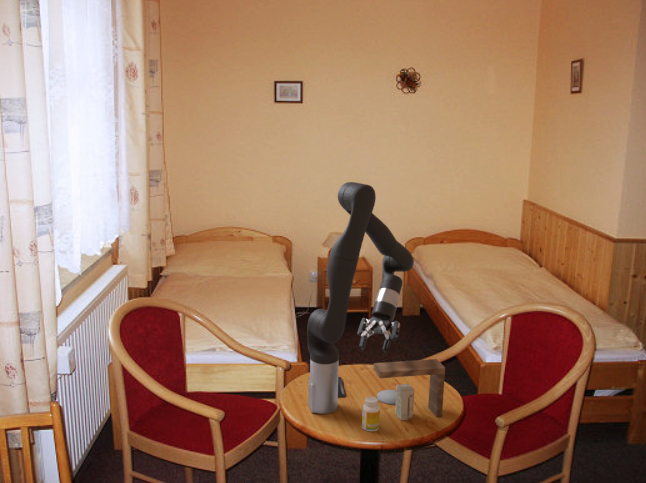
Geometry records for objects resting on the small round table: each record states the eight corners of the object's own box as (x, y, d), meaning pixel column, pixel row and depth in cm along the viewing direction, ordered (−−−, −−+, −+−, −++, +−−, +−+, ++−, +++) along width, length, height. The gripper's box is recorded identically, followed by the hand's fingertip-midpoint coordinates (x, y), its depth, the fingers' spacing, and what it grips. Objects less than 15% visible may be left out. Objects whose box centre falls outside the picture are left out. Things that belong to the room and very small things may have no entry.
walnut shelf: (377, 422, 194) (380, 372, 191) (371, 411, 201) (373, 363, 197) (441, 416, 199) (445, 367, 195) (433, 406, 205) (436, 358, 202)
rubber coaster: (381, 405, 205) (381, 404, 205) (373, 392, 215) (373, 390, 215) (410, 403, 207) (410, 401, 207) (400, 390, 217) (400, 388, 217)
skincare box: (413, 419, 197) (415, 390, 195) (400, 420, 196) (402, 391, 194) (407, 411, 202) (408, 383, 200) (394, 413, 201) (396, 384, 198)
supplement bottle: (358, 427, 191) (359, 398, 189) (370, 421, 195) (371, 393, 193) (370, 434, 188) (372, 405, 185) (382, 428, 191) (383, 399, 189)
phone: (341, 376, 225) (345, 395, 211) (341, 379, 226) (345, 398, 211) (319, 376, 225) (322, 395, 210) (319, 379, 225) (322, 398, 210)
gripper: (362, 298, 208) (349, 343, 201) (399, 301, 199) (386, 348, 193) (372, 308, 213) (360, 352, 206) (409, 310, 204) (397, 356, 198)
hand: (373, 350), depth 200 cm, fingers open, 8 cm apart
